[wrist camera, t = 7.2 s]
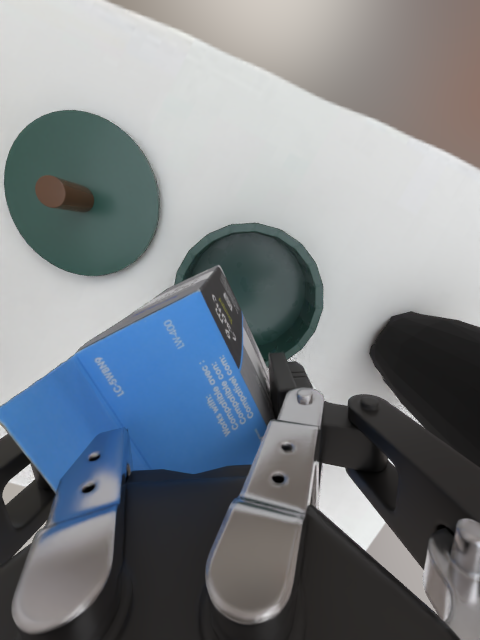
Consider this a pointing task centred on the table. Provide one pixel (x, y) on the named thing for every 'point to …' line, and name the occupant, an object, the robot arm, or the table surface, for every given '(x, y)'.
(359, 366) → the table surface
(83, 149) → the lid
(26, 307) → the table surface
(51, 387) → the tape cartridge
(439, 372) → the portable speaker
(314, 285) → the bowl
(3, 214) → the table surface
